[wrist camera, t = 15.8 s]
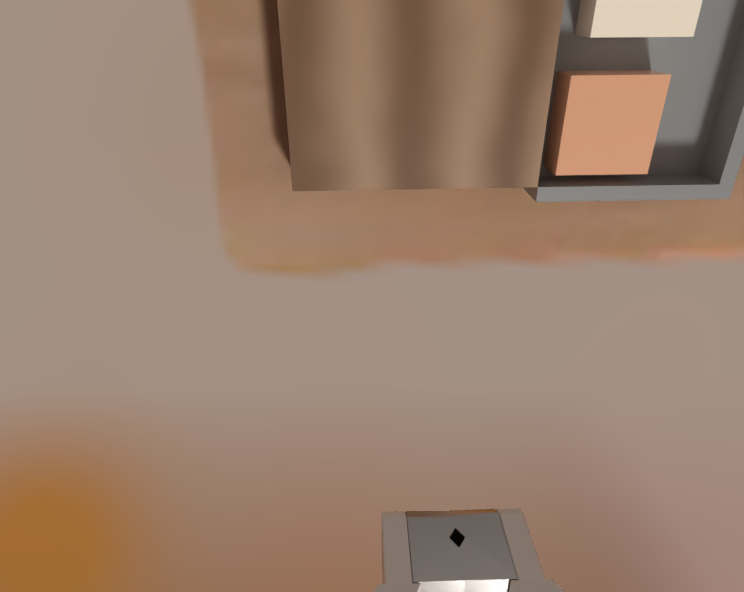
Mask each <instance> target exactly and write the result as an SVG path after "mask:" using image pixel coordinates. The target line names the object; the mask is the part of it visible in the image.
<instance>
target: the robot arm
mask: <svg viewBox="0 0 744 592" xmlns="http://www.w3.org/2000/svg"><path fill="white" fill-rule="evenodd" d="M374 592H565V591H564V590H563V589H562V588H561V587H560V586H559V585H558V584H557V583H556V582H555V581H554V580H553V579H552V580H551V579H545V576H544V573H543V570H542V567H541V564H540V561H539V558H538V556H537V552H536V549H535V547H534V543H533V540H532V538H531V534H530V531H529V528H528V525H527V522H526V519H525V517H524V513H523V512H522V511H521V509H519V508H518V509H472V510H451V511H406V512H405V511H400V512H399V511H396V512H382V584H379V585H377V587H376V589H375V591H374Z"/></svg>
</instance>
